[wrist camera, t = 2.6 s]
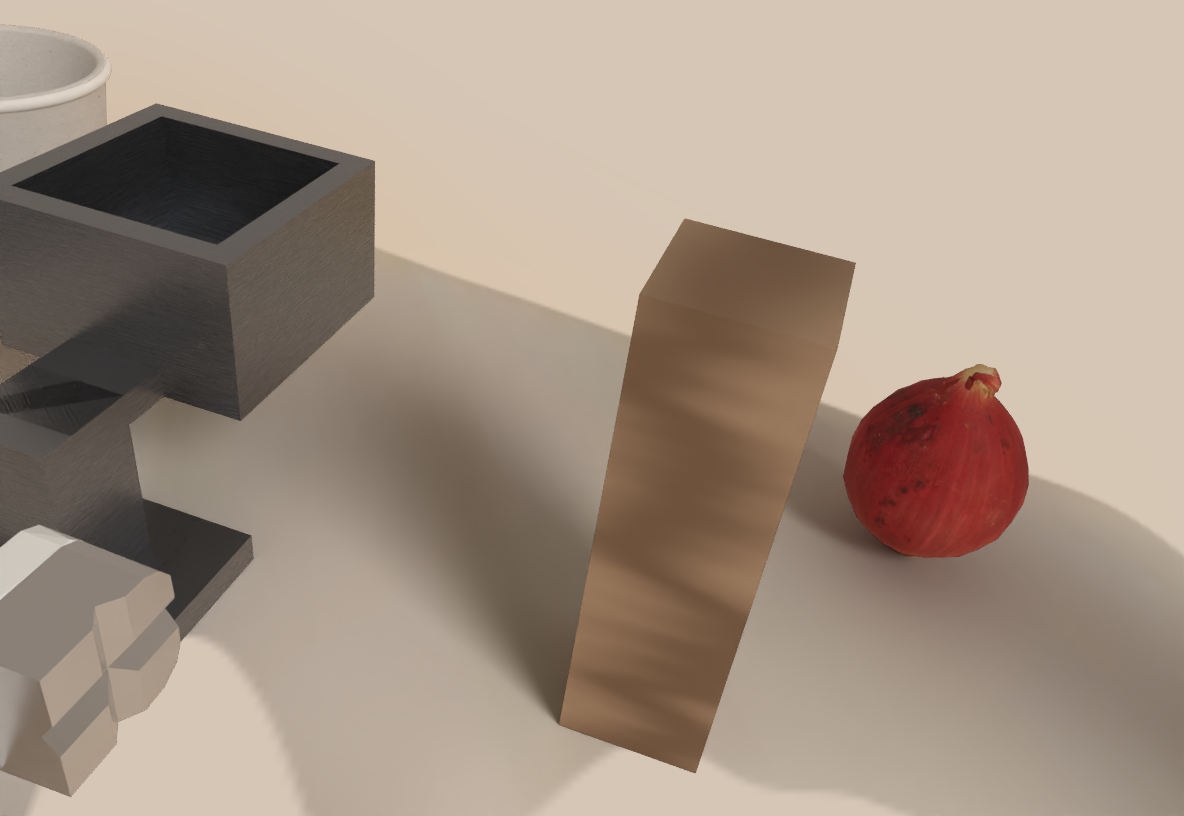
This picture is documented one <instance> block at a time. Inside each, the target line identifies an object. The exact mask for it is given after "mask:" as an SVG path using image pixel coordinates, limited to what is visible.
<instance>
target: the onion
mask: <svg viewBox="0 0 1184 816" xmlns="http://www.w3.org/2000/svg"><path fill="white" fill-rule="evenodd" d="M1000 386H1001V380H1000V377H999V374H998V372H997V370H996V368H990V367H987V366H985V365H982V364H977V365H976V366H974V367H971V368H968V369H965V370H963V371H961V372H959V373H958V374H956V375H954V376H951V377H947V378H944V377H943V378H934V379H929V380H922V381H920V382H917V383H915V384H913V385H910V386H907V387H905V388H901V389H898V390H897V391H895V392H894V393H893V394H891V395H890V396H888V397H887V398H886V399H884V400H883V401H881V402H880V403H879V404H877V405H876V406H874V407H873V408H872V409H871V410H870V411H869V412H868V413H867V415H866V416H865V417H864V418H863V419H862V420H861V422H860V424H859V426H858V427H857V429H856V431H855V433H854V435H853V437H852V440H851V444H850V448H849V452H848V456H847V461H846V466H845V471H844V475H843V478H844V482H845V486H846V490H847V494H848V498H849V500H850V502H851V505H852V507H853V509H854V512H855V514H856V516H857V518H858V519H859V520H860V521H861V523H862V524H863V525H864V526H865V527H866V528H867V529H868V530H869V531H870V532H871V533H872V534H873V535H874V536H875V537H876V538H878V539H879V540H880V541H881V542H882V543H884V544H885V545H887V546H889V547H891V548H893V549H894V550H895V551H897V552H899V553H900V554H903V555H905V556H918V557H942V558H943V557H959V556H962V555H965V554H967V553H970V552H973V551H975V550H978V549H980V548H982V547H984V546H986V545H987V544H989V543H991V542H993V541H995V540H996V539H998V538H999V537H1000V535H1001V534H1002V533H1003V532H1004V531H1005V529H1006V528H1007V527H1008V526H1009V524H1010V523H1011V522H1012V520H1013V519H1014V517H1015V516H1016V514H1017V513H1018V511H1019V510H1020V508H1021V507H1022V505H1023V503H1024V499H1025V496H1026V492H1027V489H1028V485H1029V479H1028V463H1027V457H1026V451H1025V446H1024V442H1023V438H1022V435H1021V433H1020V431H1019V428H1018V426H1017V425H1016V423H1015V421H1014V420H1013V418H1012V416H1011V415H1010V414H1009V412H1008V411H1007V410H1006V409H1005V407H1004V406H1003V405H1002V404H1001V403H1000V401H999V400H998V399H997V398H996V397H994V394H995V393H996V392H998V390H999V388H1000Z"/></svg>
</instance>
